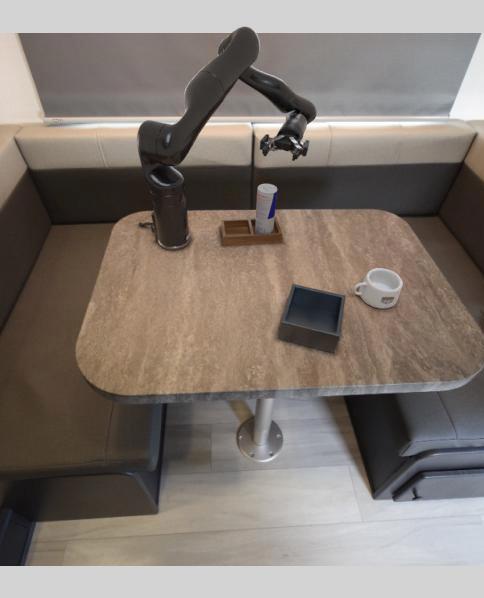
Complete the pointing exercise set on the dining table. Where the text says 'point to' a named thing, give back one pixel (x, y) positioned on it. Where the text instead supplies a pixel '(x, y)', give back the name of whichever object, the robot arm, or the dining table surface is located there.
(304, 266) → the dining table surface
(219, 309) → the dining table surface
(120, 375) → the dining table surface
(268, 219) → the beverage can
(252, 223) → the wooden divided tray
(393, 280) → the mug
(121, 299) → the dining table surface
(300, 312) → the dark gray square box
